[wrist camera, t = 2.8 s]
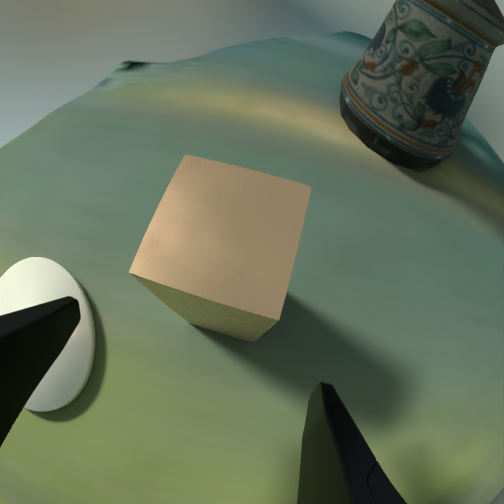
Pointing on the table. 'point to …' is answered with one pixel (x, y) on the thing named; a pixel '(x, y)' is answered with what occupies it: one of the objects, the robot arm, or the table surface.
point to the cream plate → (80, 343)
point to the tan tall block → (223, 246)
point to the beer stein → (420, 78)
